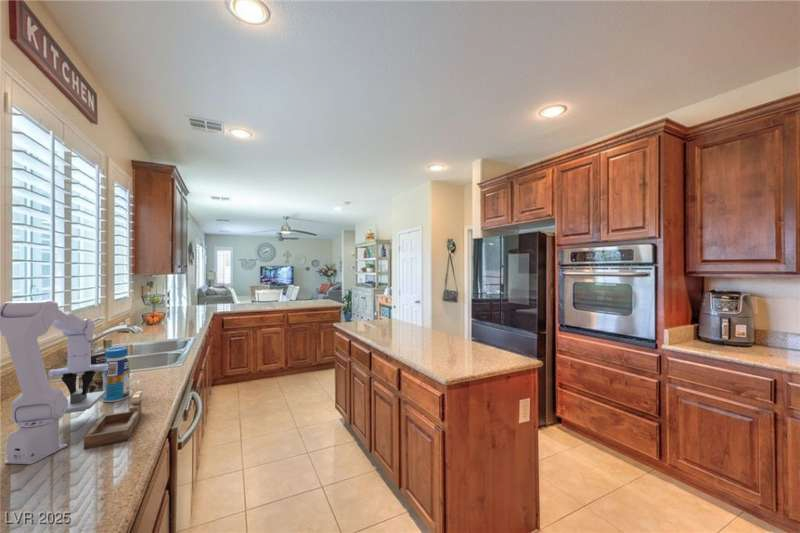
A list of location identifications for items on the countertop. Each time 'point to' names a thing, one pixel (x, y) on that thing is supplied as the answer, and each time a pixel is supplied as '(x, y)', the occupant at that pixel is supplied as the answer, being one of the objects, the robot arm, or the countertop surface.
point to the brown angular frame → (113, 427)
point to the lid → (82, 400)
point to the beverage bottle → (116, 375)
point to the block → (137, 397)
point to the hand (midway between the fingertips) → (79, 394)
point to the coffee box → (97, 379)
